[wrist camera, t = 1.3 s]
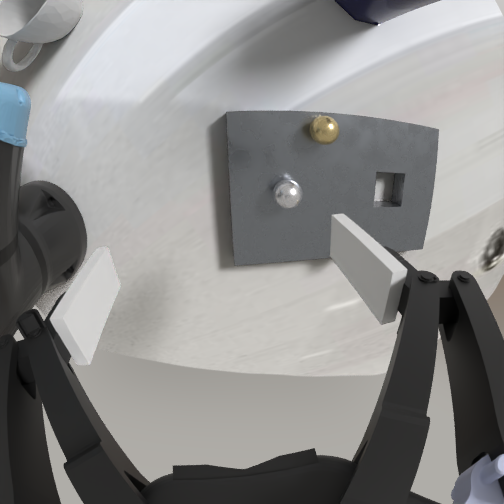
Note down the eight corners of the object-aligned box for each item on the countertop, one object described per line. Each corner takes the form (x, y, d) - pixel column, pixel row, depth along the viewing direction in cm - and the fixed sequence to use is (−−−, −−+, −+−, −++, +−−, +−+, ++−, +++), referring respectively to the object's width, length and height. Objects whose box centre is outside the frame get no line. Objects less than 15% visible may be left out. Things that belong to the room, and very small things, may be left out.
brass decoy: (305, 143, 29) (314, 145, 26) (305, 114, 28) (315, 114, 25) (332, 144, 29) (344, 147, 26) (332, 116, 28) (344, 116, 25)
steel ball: (270, 204, 32) (275, 214, 29) (270, 177, 30) (275, 183, 27) (297, 203, 32) (305, 212, 29) (298, 176, 31) (306, 182, 28)
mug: (59, -11, 16) (23, -33, 7) (104, -4, 19) (72, -34, 10) (15, 68, 21) (-31, 65, 12) (55, 80, 23) (8, 76, 14)
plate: (233, 256, 37) (234, 265, 35) (226, 112, 29) (226, 111, 27) (413, 242, 39) (422, 249, 37) (427, 127, 31) (438, 129, 29)
